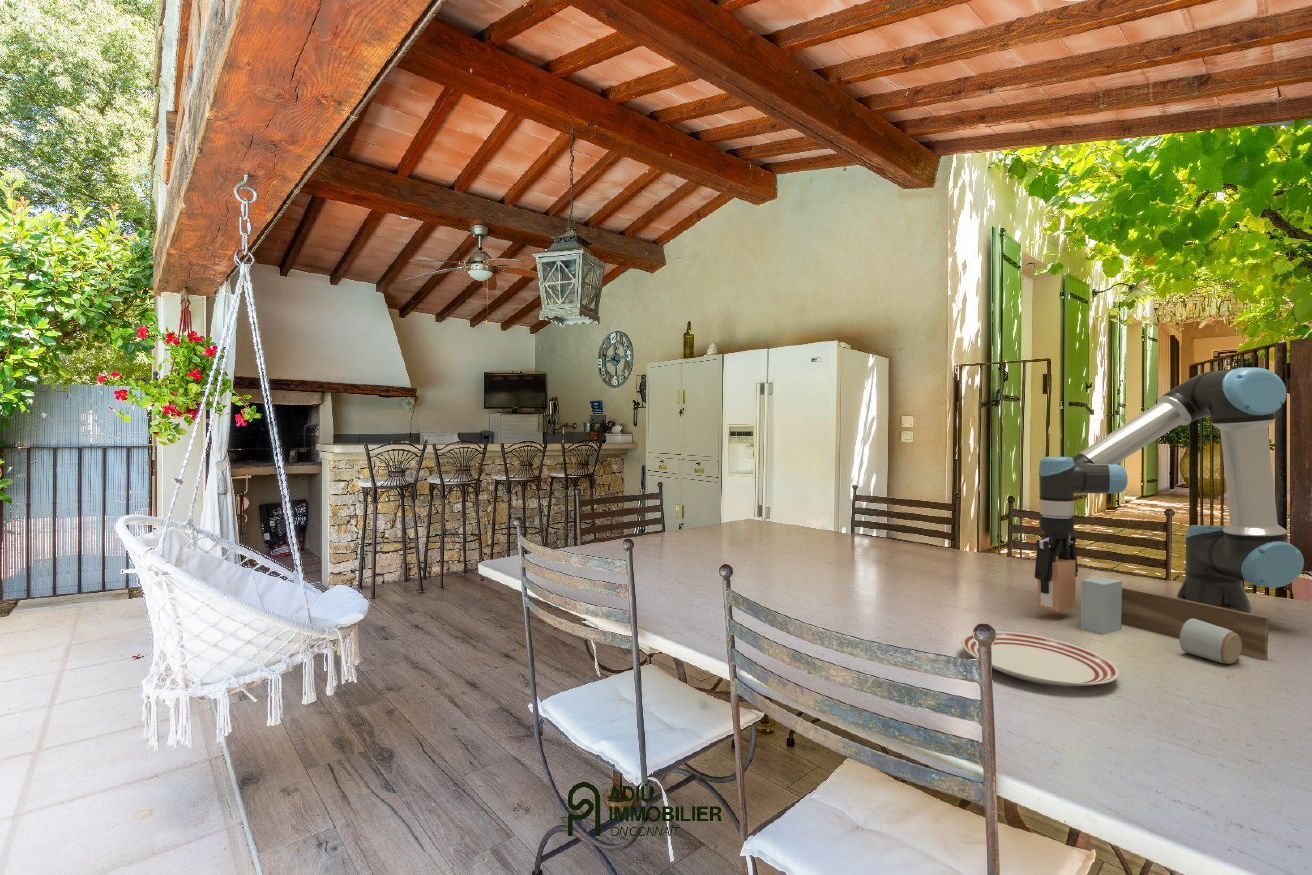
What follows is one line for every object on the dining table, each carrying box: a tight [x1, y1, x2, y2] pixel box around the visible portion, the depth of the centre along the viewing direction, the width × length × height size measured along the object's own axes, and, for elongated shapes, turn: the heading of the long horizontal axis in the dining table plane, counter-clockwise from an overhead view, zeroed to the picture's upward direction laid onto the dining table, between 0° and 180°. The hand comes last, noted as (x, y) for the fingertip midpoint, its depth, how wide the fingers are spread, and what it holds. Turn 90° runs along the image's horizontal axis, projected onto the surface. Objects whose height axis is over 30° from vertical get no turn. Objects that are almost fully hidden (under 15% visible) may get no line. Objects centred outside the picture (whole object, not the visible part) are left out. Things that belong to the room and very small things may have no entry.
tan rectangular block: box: [1037, 557, 1077, 612], centre depth 160 cm, size 8×5×12 cm, turn 118°
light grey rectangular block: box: [1080, 575, 1123, 636], centre depth 150 cm, size 8×5×12 cm, turn 118°
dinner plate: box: [960, 630, 1120, 687], centre depth 126 cm, size 28×27×3 cm
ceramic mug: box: [1179, 619, 1242, 665], centre depth 132 cm, size 11×8×8 cm
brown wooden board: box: [1121, 586, 1270, 661], centre depth 145 cm, size 1×32×9 cm, turn 28°
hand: (1056, 603), depth 160 cm, fingers closed on tan rectangular block, 8 cm apart
